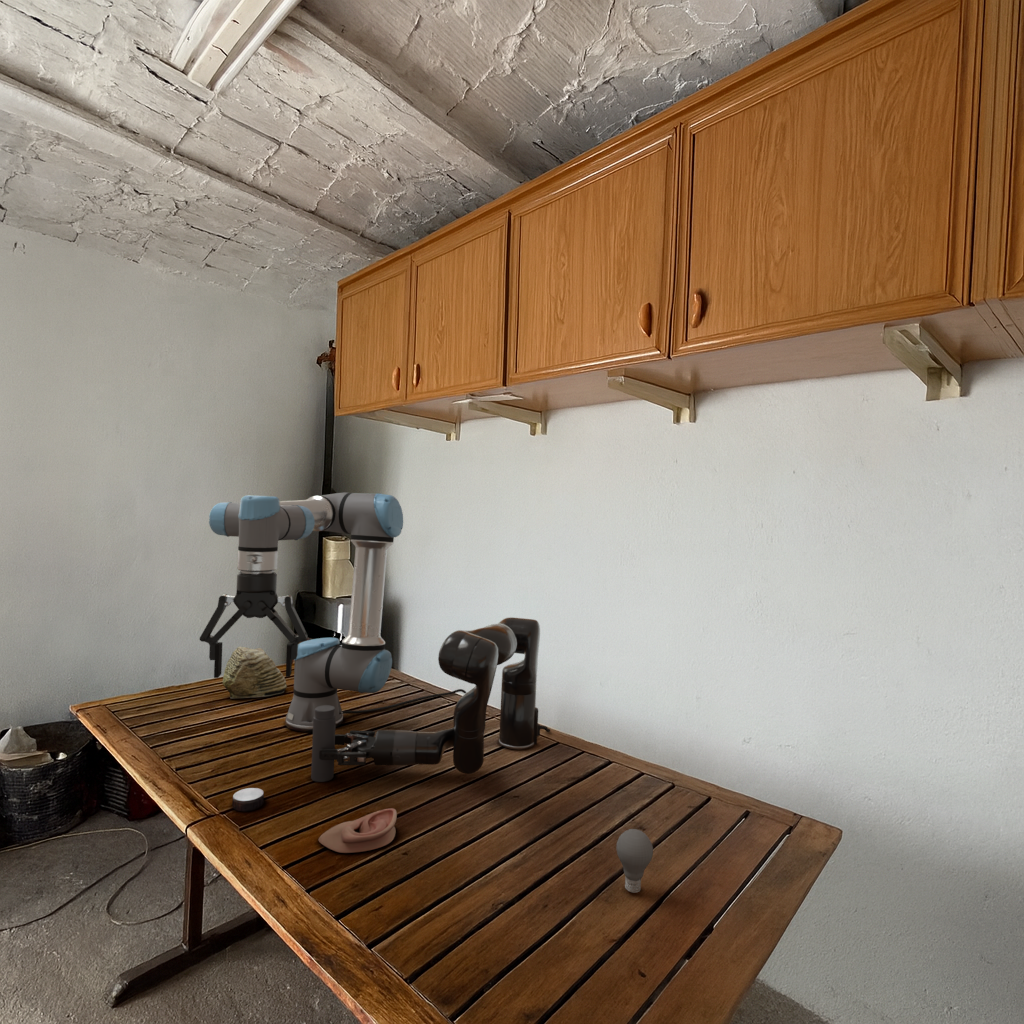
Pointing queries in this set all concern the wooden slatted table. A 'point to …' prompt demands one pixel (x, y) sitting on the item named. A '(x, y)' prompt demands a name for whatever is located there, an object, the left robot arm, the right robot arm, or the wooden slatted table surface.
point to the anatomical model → (362, 833)
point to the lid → (248, 799)
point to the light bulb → (634, 857)
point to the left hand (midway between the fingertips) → (253, 675)
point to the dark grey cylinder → (323, 742)
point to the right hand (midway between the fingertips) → (324, 746)
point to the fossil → (252, 674)
